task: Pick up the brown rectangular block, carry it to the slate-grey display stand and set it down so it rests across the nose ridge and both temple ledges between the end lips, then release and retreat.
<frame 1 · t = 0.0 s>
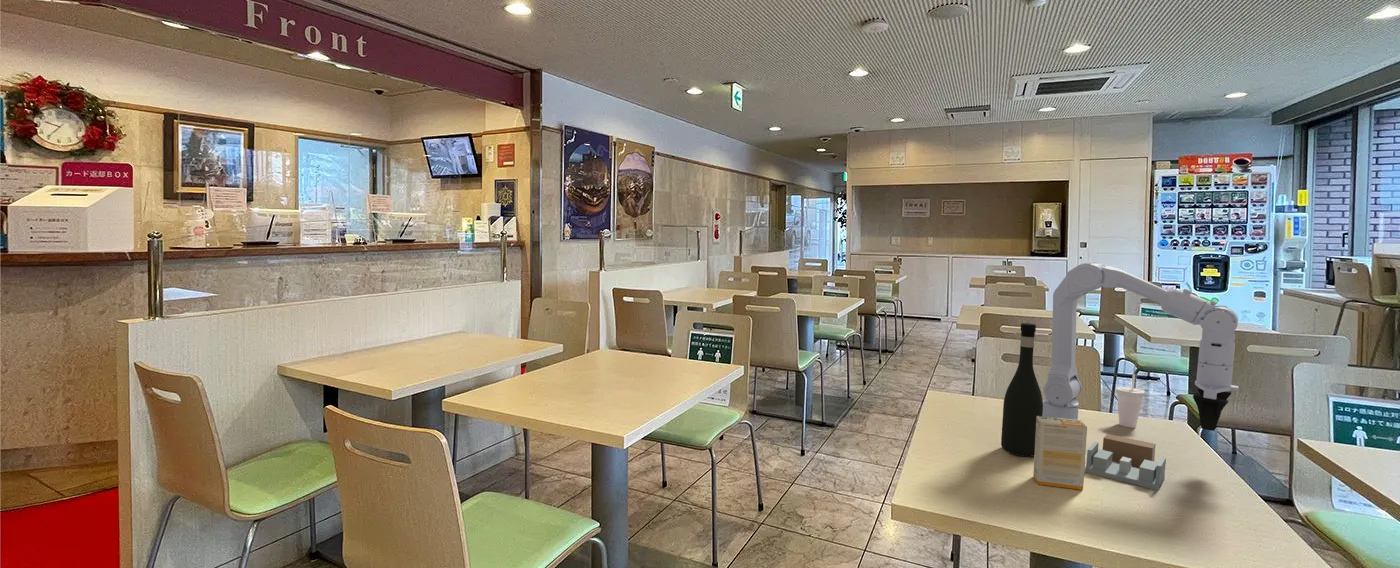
hand: (1209, 425, 130), 10 cm above the table, fingers open, 7 cm apart
brown rectangular block: (1127, 462, 135), on the table
smoothie: (1127, 426, 162), on the table
display stand: (1124, 475, 128), on the table
supplement box: (1056, 484, 123), on the table
wine bottle: (1019, 452, 141), on the table
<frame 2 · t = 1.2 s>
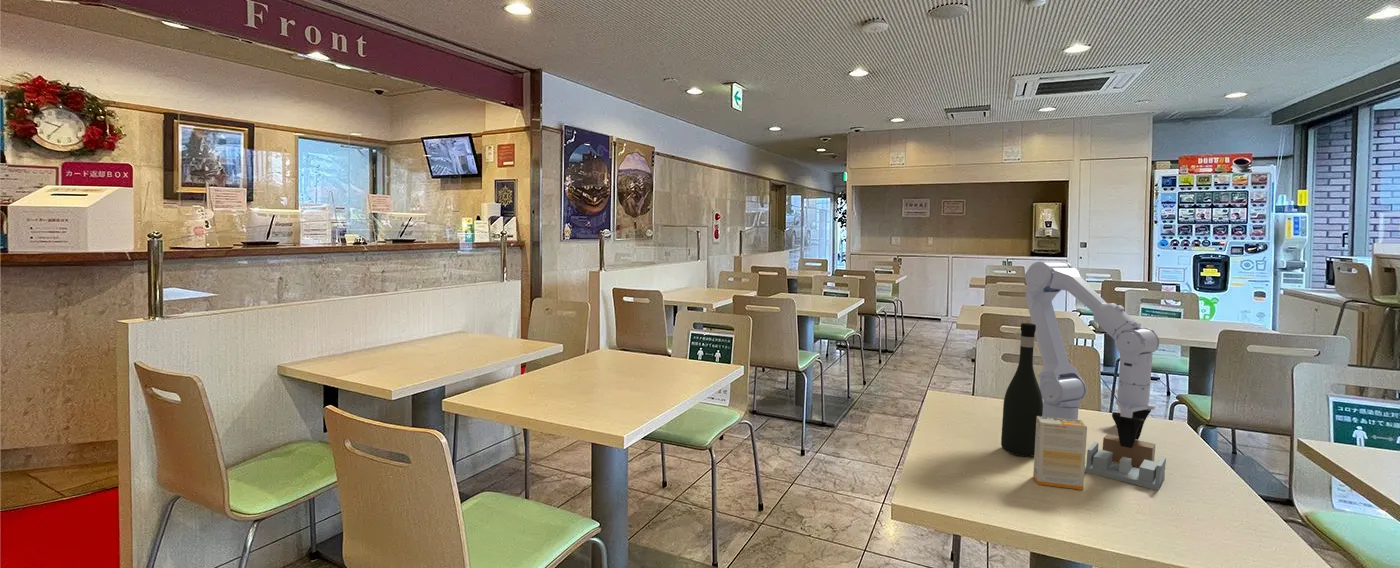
hand: (1129, 442, 135), 4 cm above the table, fingers open, 7 cm apart
nothing on the table moved.
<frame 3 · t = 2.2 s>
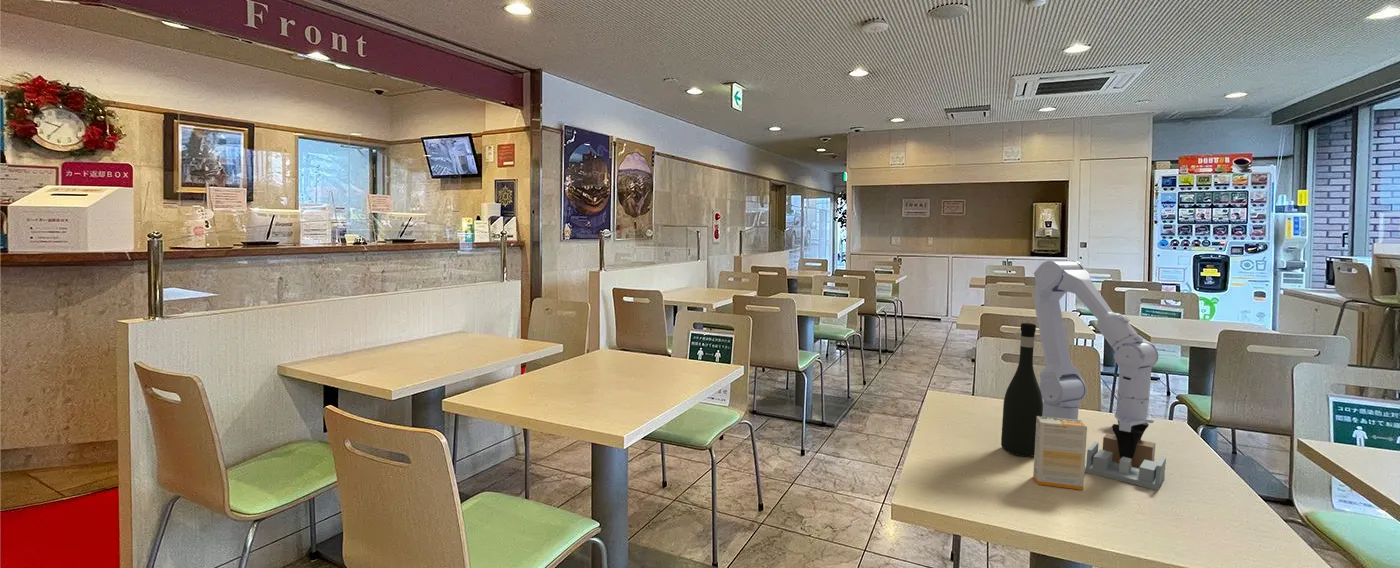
hand: (1128, 455, 135), 1 cm above the table, fingers closed on brown rectangular block, 4 cm apart
brown rectangular block: (1127, 461, 135), on the table, touching gripper
everything else where it was.
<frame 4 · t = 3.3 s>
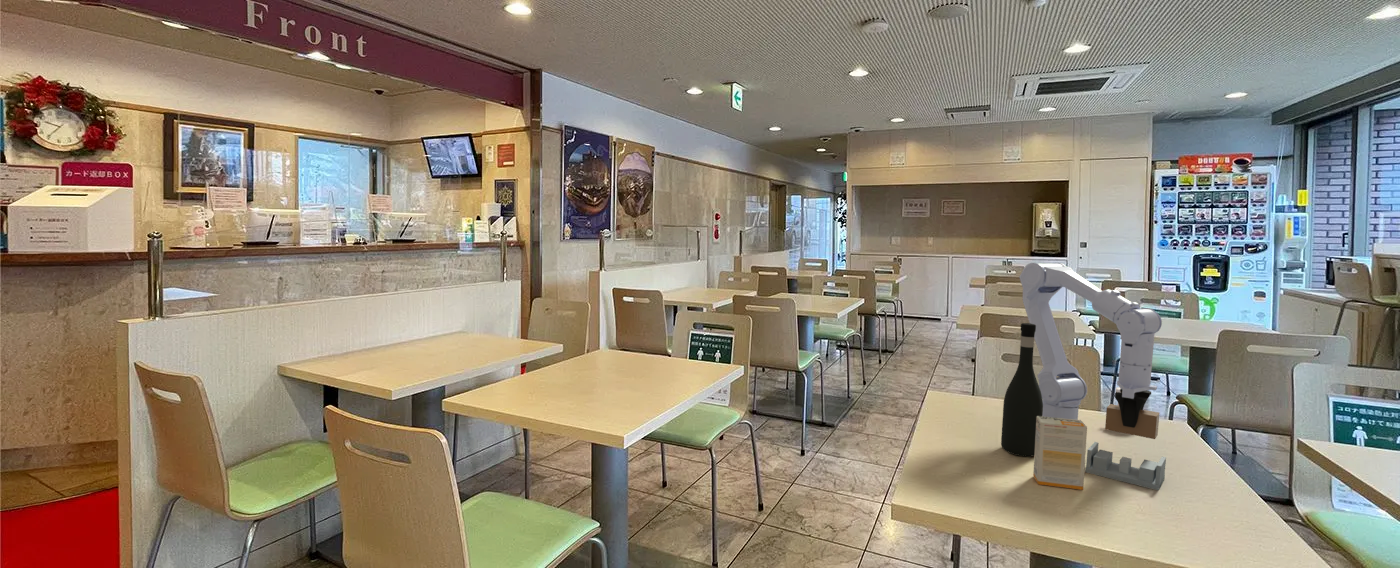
hand: (1130, 424, 134), 9 cm above the table, fingers closed on brown rectangular block, 4 cm apart
brown rectangular block: (1131, 432, 134), point 7 cm above the table, touching gripper
everything else where it was.
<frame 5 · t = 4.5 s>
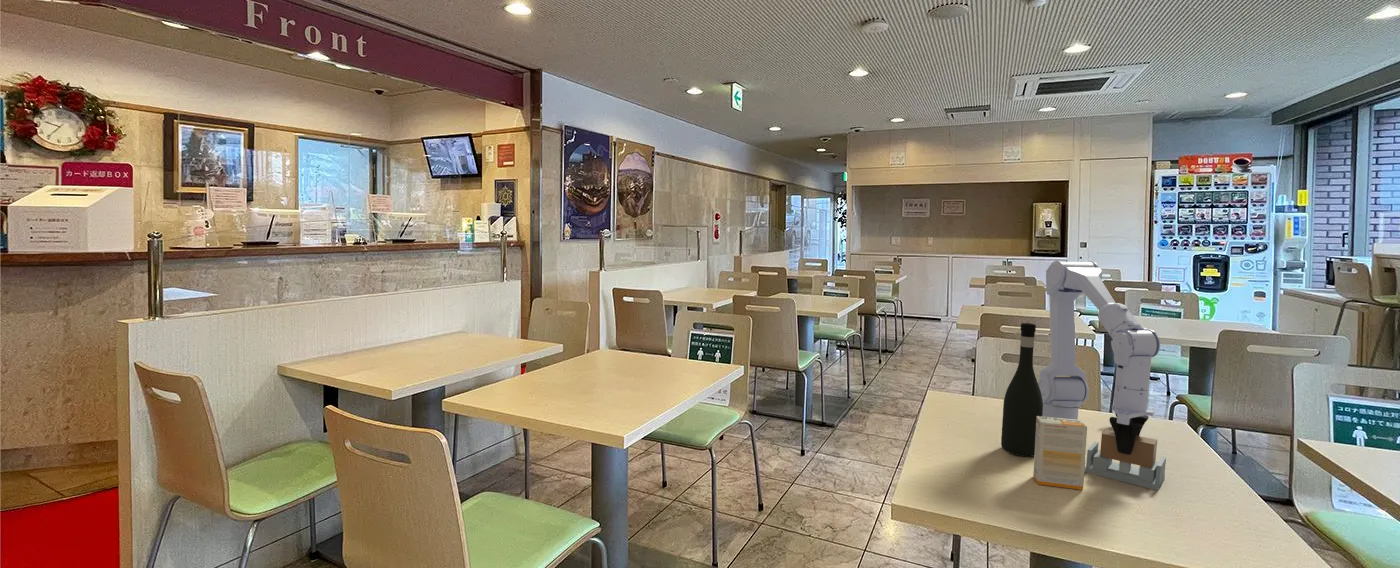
hand: (1126, 450, 127), 5 cm above the table, fingers closed on brown rectangular block, 4 cm apart
brown rectangular block: (1127, 459, 127), point 3 cm above the table, touching display stand, gripper
everything else where it was.
when the fingers open (5 cm above the table, at t = 4.9 s): brown rectangular block stays where it is, resting on display stand.
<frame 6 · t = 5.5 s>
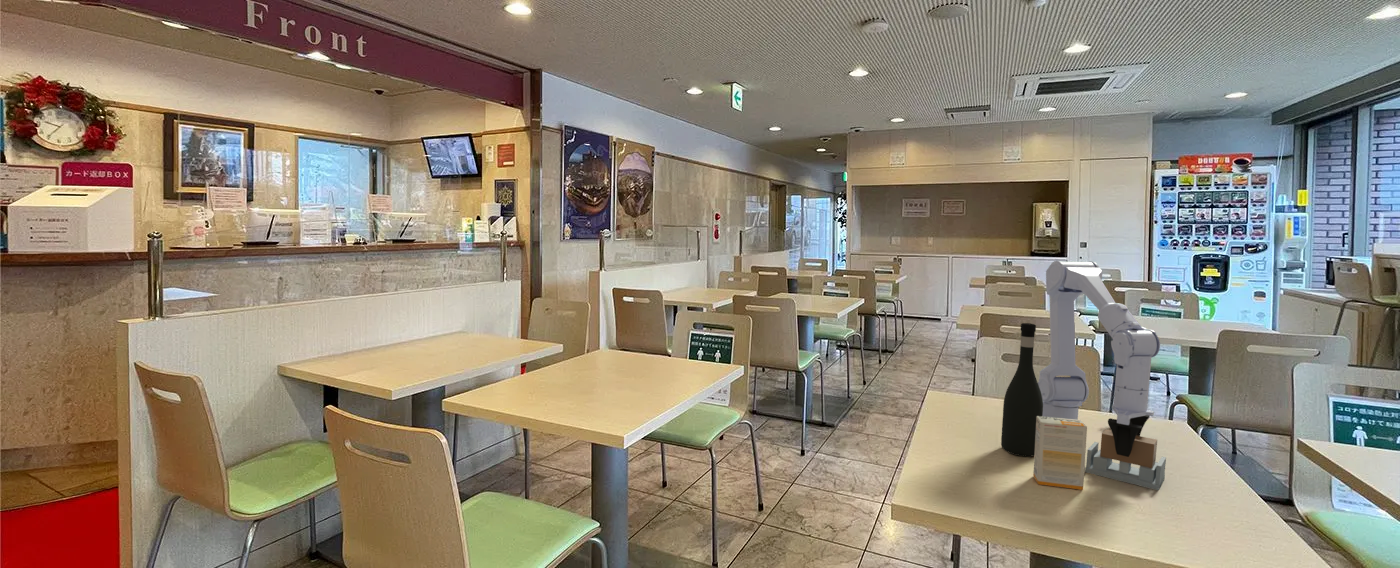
hand: (1126, 450, 127), 5 cm above the table, fingers open, 7 cm apart
brown rectangular block: (1127, 459, 127), point 3 cm above the table, touching display stand
everything else where it was.
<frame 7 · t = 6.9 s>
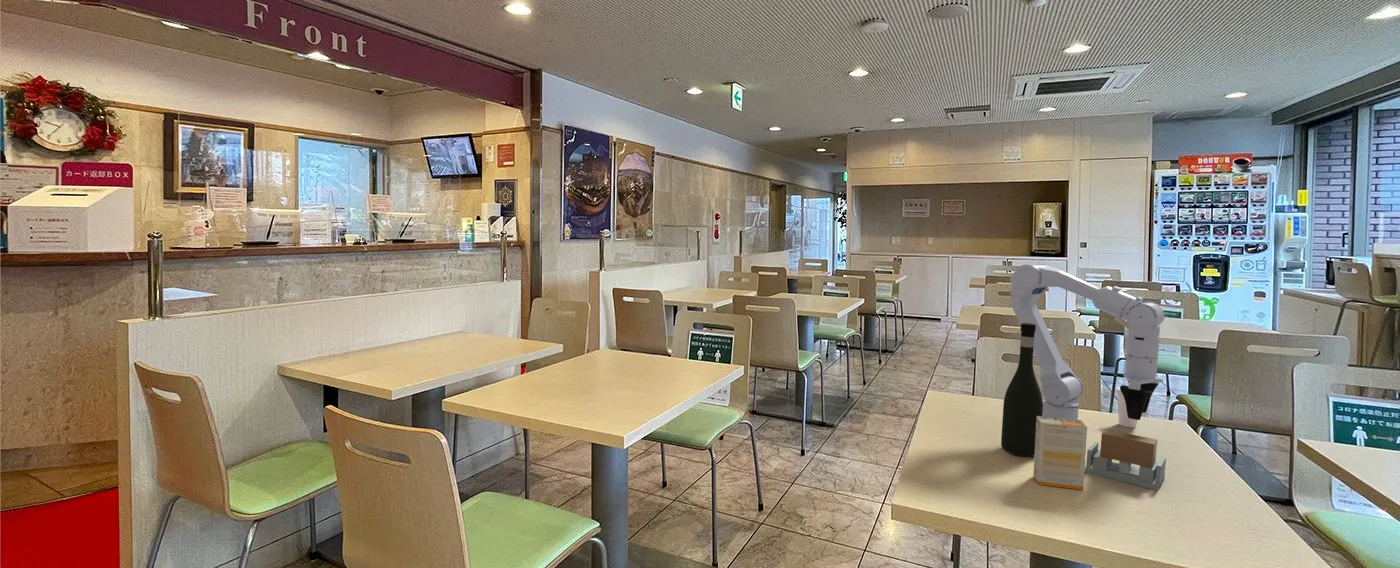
hand: (1137, 415, 137), 10 cm above the table, fingers open, 7 cm apart
nothing on the table moved.
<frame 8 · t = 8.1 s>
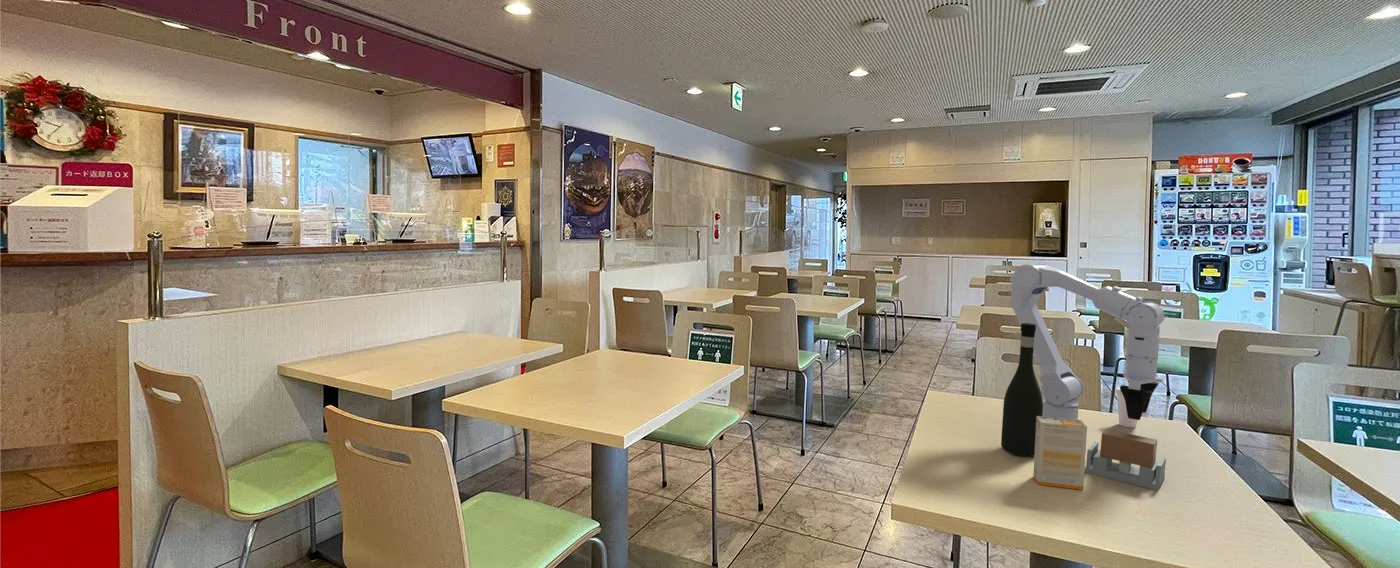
hand: (1137, 415, 137), 10 cm above the table, fingers open, 7 cm apart
nothing on the table moved.
at the end: brown rectangular block 0.3 cm off-centre on the display stand, point 3.5 cm above the display stand's base; brown rectangular block tilted 0°; brown rectangular block touching display stand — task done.
